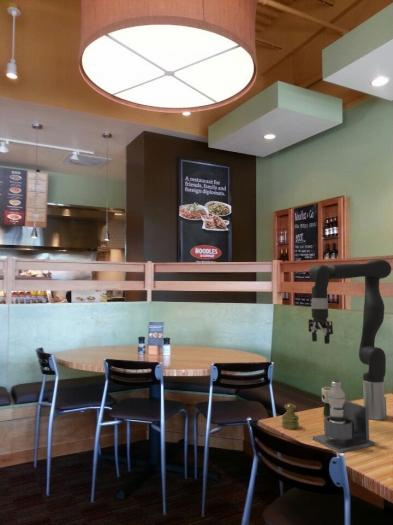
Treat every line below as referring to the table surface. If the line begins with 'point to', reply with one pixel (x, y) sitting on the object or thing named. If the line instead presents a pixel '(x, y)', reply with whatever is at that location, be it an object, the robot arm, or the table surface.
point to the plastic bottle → (336, 403)
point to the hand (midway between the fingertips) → (320, 342)
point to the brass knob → (290, 418)
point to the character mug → (326, 401)
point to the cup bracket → (347, 430)
